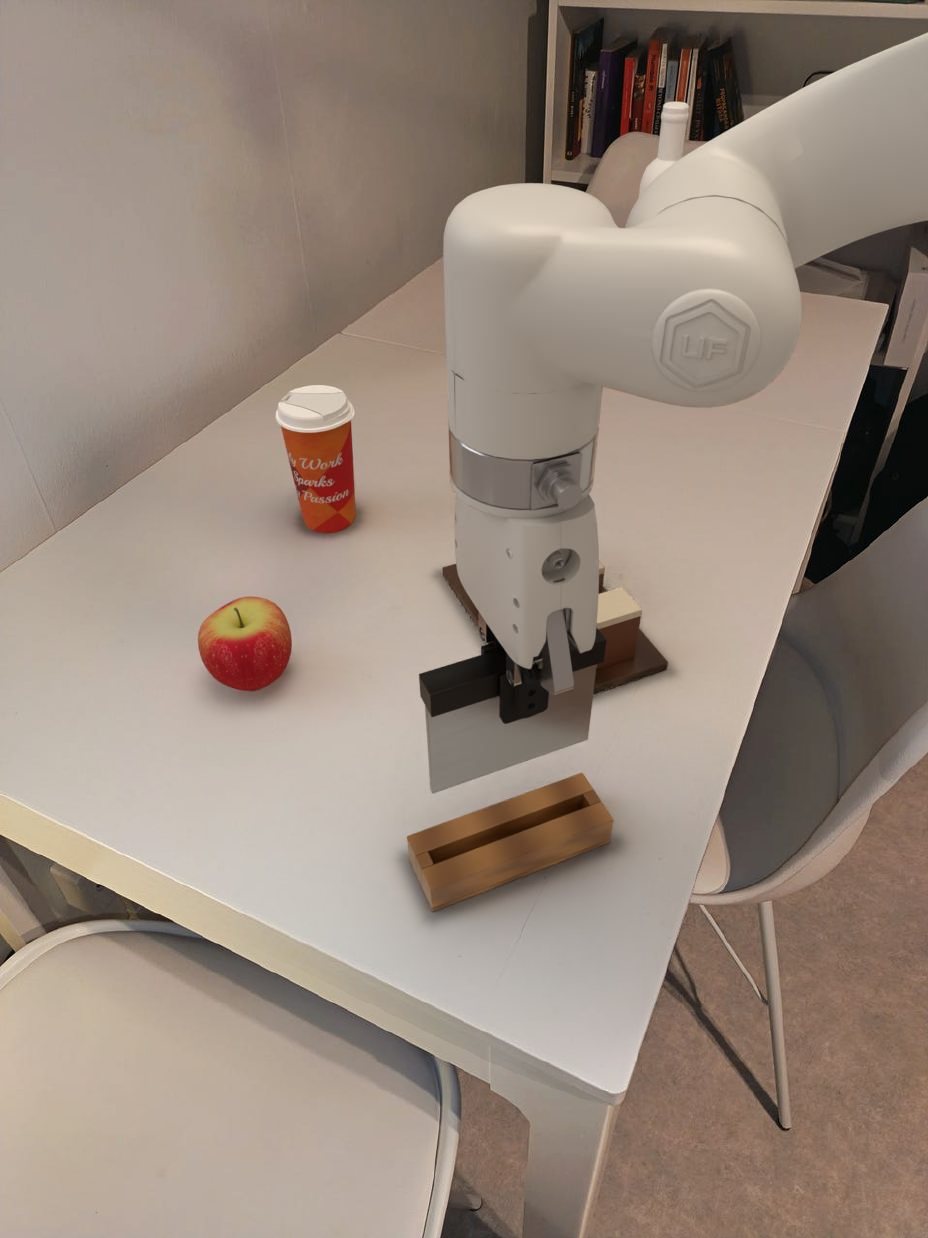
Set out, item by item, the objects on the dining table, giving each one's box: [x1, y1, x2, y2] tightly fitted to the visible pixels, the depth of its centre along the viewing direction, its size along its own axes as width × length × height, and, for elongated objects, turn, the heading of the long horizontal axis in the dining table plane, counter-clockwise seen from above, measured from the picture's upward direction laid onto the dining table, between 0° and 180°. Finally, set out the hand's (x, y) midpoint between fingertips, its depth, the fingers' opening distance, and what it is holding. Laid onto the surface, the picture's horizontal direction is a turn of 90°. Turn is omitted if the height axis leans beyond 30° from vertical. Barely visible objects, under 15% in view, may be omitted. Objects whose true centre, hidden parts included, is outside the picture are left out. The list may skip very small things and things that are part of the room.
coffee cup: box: [275, 384, 356, 534], centre depth 98 cm, size 8×8×15 cm
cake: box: [441, 560, 669, 695], centre depth 87 cm, size 14×22×7 cm, turn 23°
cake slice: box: [596, 586, 643, 670], centre depth 81 cm, size 9×4×6 cm, turn 113°
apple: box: [197, 596, 293, 692], centre depth 80 cm, size 8×8×10 cm
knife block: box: [406, 772, 615, 912], centre depth 68 cm, size 15×5×3 cm, turn 113°
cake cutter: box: [418, 627, 607, 794], centre depth 58 cm, size 12×2×10 cm, turn 113°
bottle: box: [638, 101, 690, 198], centre depth 135 cm, size 8×8×30 cm
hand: (514, 698), depth 57 cm, fingers closed on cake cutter, 2 cm apart
